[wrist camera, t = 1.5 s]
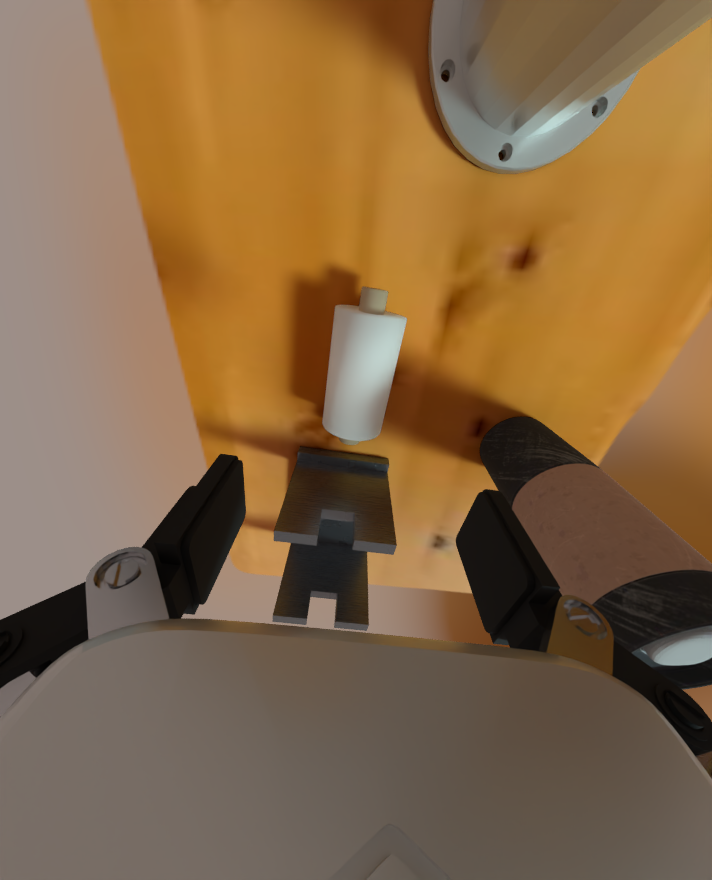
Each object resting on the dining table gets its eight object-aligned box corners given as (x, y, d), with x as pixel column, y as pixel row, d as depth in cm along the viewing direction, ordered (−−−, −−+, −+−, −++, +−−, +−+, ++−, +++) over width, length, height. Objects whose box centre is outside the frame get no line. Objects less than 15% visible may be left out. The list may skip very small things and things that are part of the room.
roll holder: (299, 446, 32) (274, 522, 22) (388, 458, 32) (399, 537, 23) (293, 541, 40) (272, 626, 30) (364, 549, 41) (365, 635, 31)
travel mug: (464, 464, 33) (579, 682, 16) (498, 405, 29) (701, 608, 12) (524, 479, 34) (694, 699, 16) (565, 423, 30) (842, 635, 13)
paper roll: (338, 280, 23) (337, 284, 18) (404, 292, 24) (420, 299, 19) (322, 422, 30) (318, 452, 25) (374, 428, 31) (380, 458, 26)
